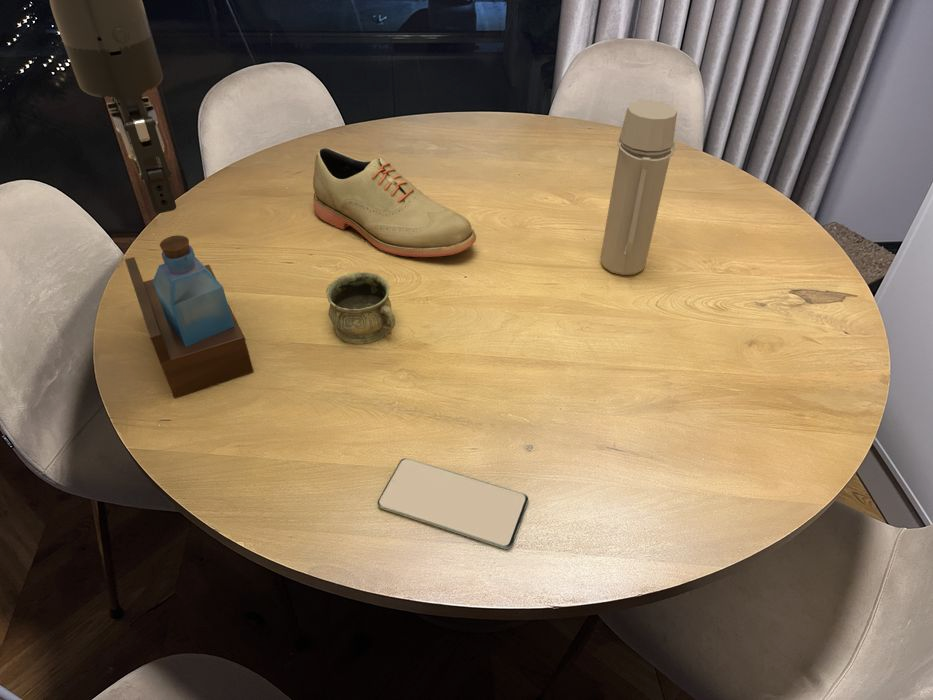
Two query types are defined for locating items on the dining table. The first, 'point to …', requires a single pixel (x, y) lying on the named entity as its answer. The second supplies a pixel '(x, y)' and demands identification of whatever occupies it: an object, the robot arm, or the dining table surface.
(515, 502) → the smartphone
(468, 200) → the dining table surface
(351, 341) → the vessel
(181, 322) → the perfume bottle
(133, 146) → the robot arm
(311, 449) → the dining table surface
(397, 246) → the oxford shoe
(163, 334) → the wooden display stand
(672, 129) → the water bottle
